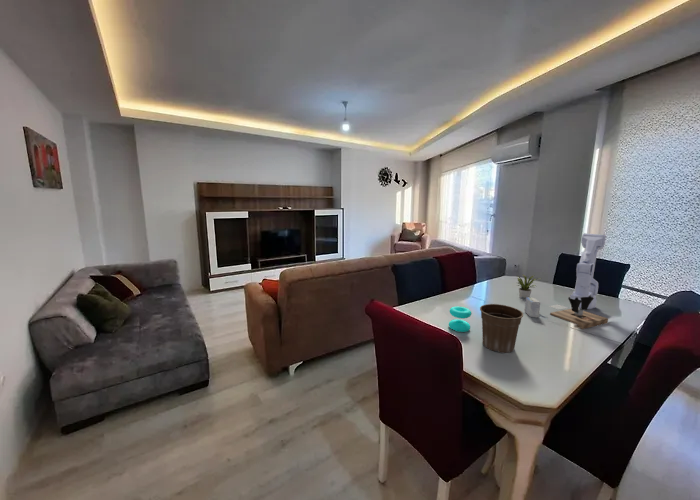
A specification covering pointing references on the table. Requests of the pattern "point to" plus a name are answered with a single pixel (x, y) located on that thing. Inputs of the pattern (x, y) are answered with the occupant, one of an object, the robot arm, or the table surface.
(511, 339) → the plant pot
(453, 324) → the donuts
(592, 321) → the hole plate
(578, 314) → the steel peg
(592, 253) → the robot arm
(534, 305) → the medicine box
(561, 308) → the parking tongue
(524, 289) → the house plant
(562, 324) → the table surface
